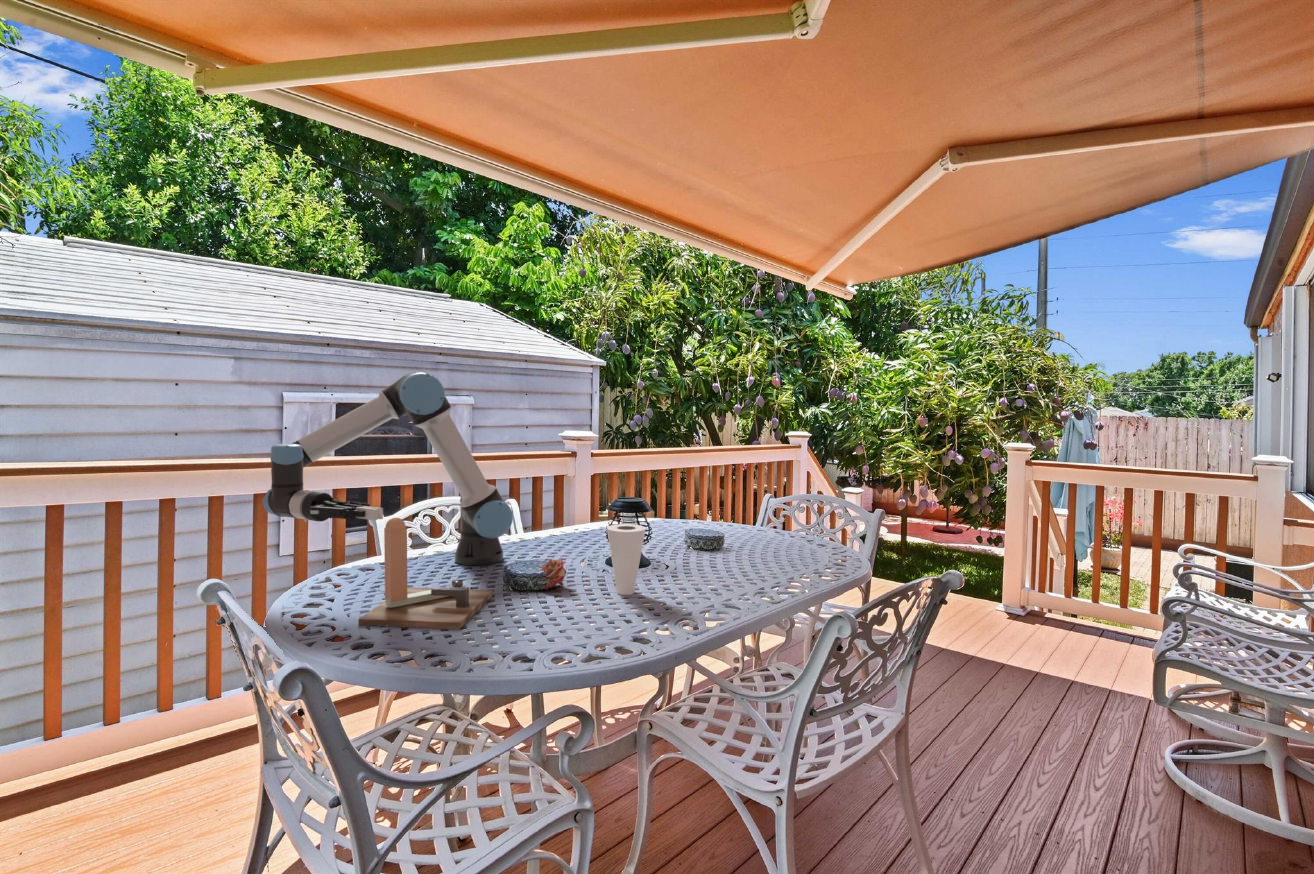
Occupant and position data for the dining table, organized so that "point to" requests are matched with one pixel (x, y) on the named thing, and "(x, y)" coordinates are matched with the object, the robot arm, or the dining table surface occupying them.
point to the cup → (625, 555)
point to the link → (399, 567)
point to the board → (427, 611)
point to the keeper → (454, 593)
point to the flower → (554, 572)
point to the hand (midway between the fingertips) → (379, 514)
